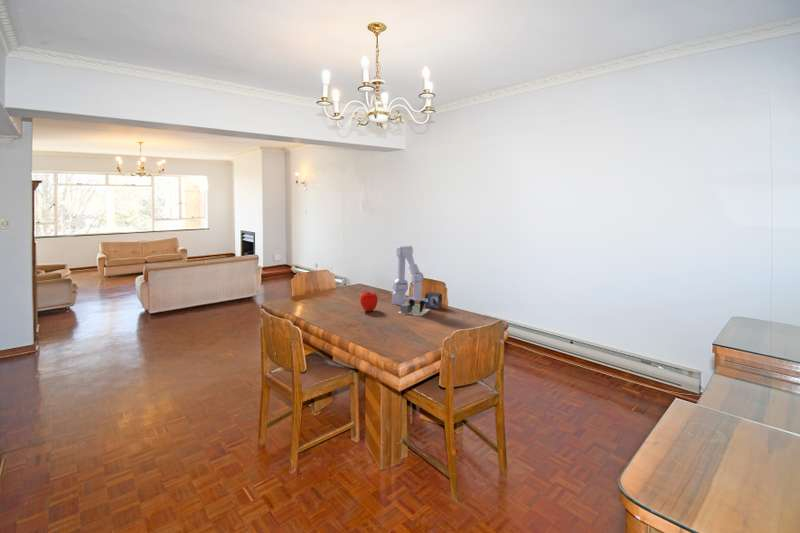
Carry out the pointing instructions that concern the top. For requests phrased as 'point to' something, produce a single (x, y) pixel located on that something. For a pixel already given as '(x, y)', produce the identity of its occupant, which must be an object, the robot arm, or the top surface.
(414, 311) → the sage block
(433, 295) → the picture frame
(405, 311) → the charcoal block
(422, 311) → the grey mat
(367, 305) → the apple
